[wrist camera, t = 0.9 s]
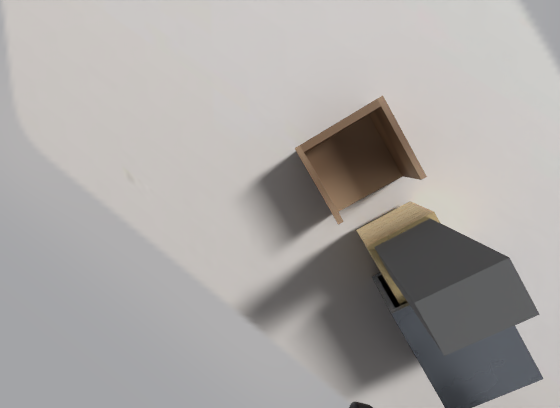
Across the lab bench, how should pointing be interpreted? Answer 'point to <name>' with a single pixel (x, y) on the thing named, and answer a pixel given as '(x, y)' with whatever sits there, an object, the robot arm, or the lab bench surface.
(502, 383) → the grey end cap
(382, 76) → the lab bench surface
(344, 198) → the socket
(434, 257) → the grey and tan block
